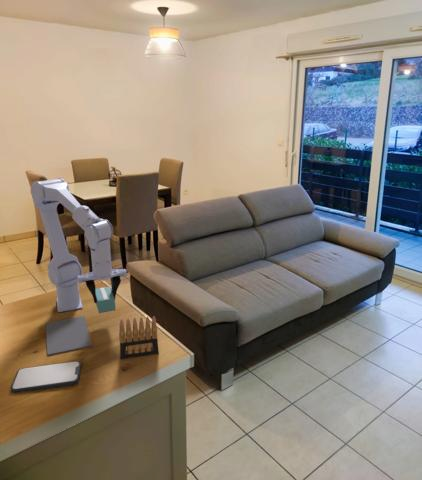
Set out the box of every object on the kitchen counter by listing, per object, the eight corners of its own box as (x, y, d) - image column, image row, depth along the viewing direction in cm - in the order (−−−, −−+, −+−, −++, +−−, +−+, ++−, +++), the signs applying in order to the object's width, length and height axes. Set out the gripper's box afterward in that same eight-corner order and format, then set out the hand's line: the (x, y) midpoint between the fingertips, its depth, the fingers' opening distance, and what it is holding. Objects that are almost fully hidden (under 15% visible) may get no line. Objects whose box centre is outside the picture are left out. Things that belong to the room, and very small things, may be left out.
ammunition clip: (157, 350, 112) (156, 313, 108) (158, 353, 110) (157, 316, 106) (120, 355, 109) (117, 318, 105) (120, 359, 108) (117, 321, 104)
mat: (45, 324, 124) (45, 322, 124) (84, 316, 129) (84, 315, 128) (47, 355, 108) (47, 354, 108) (91, 346, 113) (91, 345, 113)
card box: (94, 300, 125) (93, 288, 124) (110, 297, 127) (109, 286, 126) (98, 313, 118) (97, 301, 116) (115, 310, 120) (114, 298, 118)
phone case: (10, 396, 94) (78, 386, 97) (9, 390, 94) (78, 381, 97) (19, 373, 102) (82, 364, 106) (18, 368, 102) (81, 359, 105)
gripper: (77, 268, 111) (81, 310, 116) (127, 261, 117) (130, 301, 121) (75, 259, 117) (79, 299, 122) (123, 253, 123) (125, 292, 127)
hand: (104, 300), depth 122 cm, fingers closed on card box, 5 cm apart
